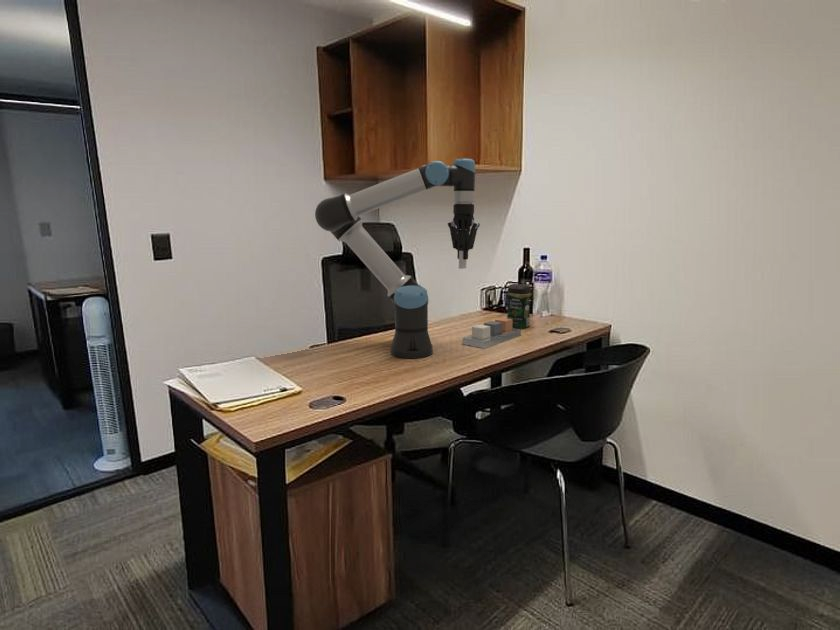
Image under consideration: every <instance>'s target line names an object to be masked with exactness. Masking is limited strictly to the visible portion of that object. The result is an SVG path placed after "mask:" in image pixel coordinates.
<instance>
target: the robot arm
mask: <svg viewBox="0 0 840 630" xmlns="http://www.w3.org/2000/svg"><path fill="white" fill-rule="evenodd" d="M475 182H476V163H475V160H474V159H473V158H456V159H454V162H453V164H446V163H444V162H443V161H442V160H441V161H440V160H434V161H431V162H429V163H428V164H424V165H421V167H418V168H415V169H413V170H411V171H408V172H407V171H406V172H405V173H402V174H400V175H397V176H395V177H392V178H390V179H387V180H385V181H382V182H379V183H377V184H374V185H372V186H368V187H366V188H364V189H362V190H359V191H357V192H353V193H351V194H348V193H346V192H345V193H342V194H341V195H336V196H334V197H327V198H324V199H323V200H321V201H320V202H319V203H318V204H317V206H316V208H315V211H314V212H315V213H314V218H315V221H316V223H317V225H318V226H319V227H320V228H321V229H323V230H324V231H327V232H330V233H331V234H332V236H334V238H335V239H336V240H337V241H338V242H343V243H345V244H346V245H347V246H348V247H349V249H351V251H353V253H354V254H355V255H356V256H357V257H358V258H359V260H360V261H361V262H362V263H363V264H364V265H365V267H366V268H367V269H368V270H369V271H370V272H371V273H372V274H373V275H374V277H375V278H376V279H377V280H378V281H379V282H380V283H381V284H382V285H383V287H385V289H386V290H387V297H388V298H389V299H390V301H392V303H393V304H394V335H393V339H392V342H391V345H390V354H391V355H392V356H393V357H397V358H399V359H400V358H401V359H421V358H426V357H428V356H431V355H433V354H434V346H433V344H432V341H431V337H430V334H429V331H428V328H429V321H428V320H429V319H428V318H429V317H428V316H429V315H428V314H429V312H428V310H429V309H428V307H429V306H428V305H429V296H428V290H427V289H426V288H425V287H424V286H422V285H420V284H419V283H418V282H417V281H416V280H415V279H414V277H413V276H412V275H408V274H407V275H406V274H405V273H404V272H403V271H402V270H401V269H400V267H399V266H397V264H396V263H395V262H394V261H393V260H392V259H391V258H390V257H389V255H388V254H387V253H386V252H385V251H384V250H383V248H382V247H381V246H380V245H379V244H378V243H377V241H376V240H374V238H373V237H372V236H371V235H370V233H369V232H368V231H367V230H366V229H365V228H364V227H363V219H362V218H361V217H360V216H363V215H364V214H367V213H370V212H372V211H375V210H377V209H378V210H379V209H380V208H383V207H385V206H389V205H391V204H392V203H393V204H394V203H397V202H398V201H401V200H404V199H406V198H408V197H411V196H414V195H416V194H419V193H421V192H424V191H426V190H429V189H432V188H435V187H453V203H454V204H453V211H452V212H453V213H452V214H453V215H454V216H453V218H452V220H451V221H449V222H447V226H448V228H449V231H450V238H451V243H452V248H453V249H454V250H456V251H457V254H456V255H457V257H456V258H457V260H458V269H460V270H461V269H462V270H463V269H467V260H468V259H469V251H470V250H473V249H474V245H475V240H476V236H477V232H478V229H479V227H480V225H481V224H480V222H476V221H475V218H474V214H475V205H474V204H473V203H475V187H476V185H475V184H476V183H475Z"/></svg>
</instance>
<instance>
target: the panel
mask: <svg viewBox="0 0 840 630" xmlns="http://www.w3.org/2000/svg"><path fill="white" fill-rule="evenodd" d="M521 332H522V328H514V327H512V330H511V331H508V332H502V334H499V335H496V336H492V335H490V338H488V339H485V340H480V339H475V338H472V334H471V335H467V336H464V337H462V345H464V346H469V345H470V346H469V347H475V348H478V349H479V348H480V349H487V348H490V347H492V346H495V345H498V344H501V343H504V342H507V341H509V340H512V339H515V338H517V337H519V336H521V335H522V333H521Z"/></svg>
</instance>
